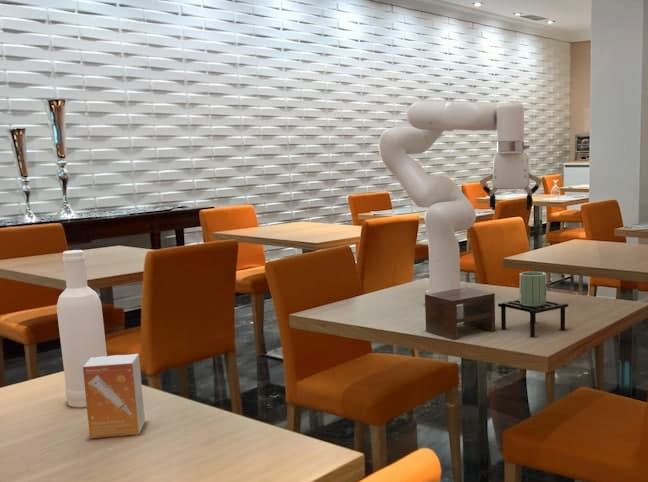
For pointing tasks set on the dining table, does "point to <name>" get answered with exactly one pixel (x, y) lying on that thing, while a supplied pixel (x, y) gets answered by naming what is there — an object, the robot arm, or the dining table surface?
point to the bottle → (78, 326)
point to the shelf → (459, 311)
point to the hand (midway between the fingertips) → (510, 209)
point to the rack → (533, 312)
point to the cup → (533, 288)
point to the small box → (114, 395)
